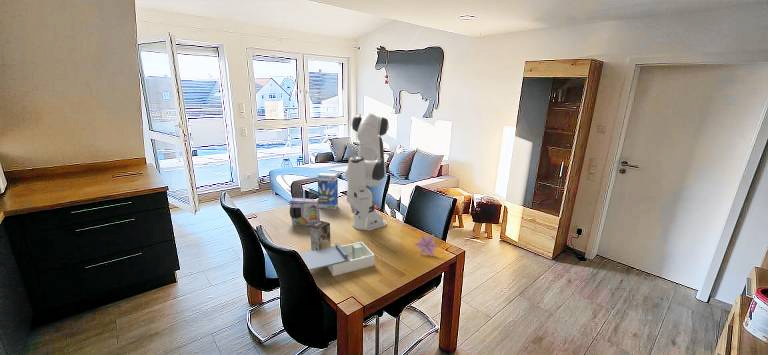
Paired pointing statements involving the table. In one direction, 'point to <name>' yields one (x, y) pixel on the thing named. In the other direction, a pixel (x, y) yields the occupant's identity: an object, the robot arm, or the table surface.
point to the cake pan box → (304, 211)
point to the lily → (427, 245)
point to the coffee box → (320, 235)
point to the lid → (324, 257)
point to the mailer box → (353, 261)
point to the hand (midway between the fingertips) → (357, 215)
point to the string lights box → (328, 190)
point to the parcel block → (356, 251)
